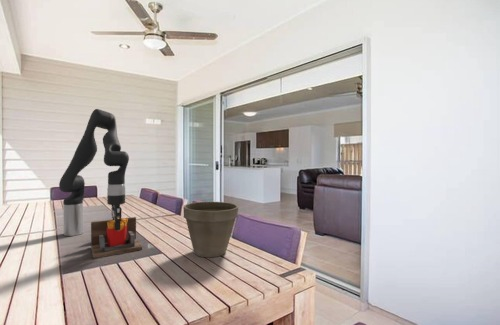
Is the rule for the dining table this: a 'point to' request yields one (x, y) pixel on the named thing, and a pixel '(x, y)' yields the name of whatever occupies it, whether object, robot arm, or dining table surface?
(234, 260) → the dining table surface
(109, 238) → the french fries
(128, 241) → the wooden shelf
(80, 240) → the dining table surface
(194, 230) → the plant pot
